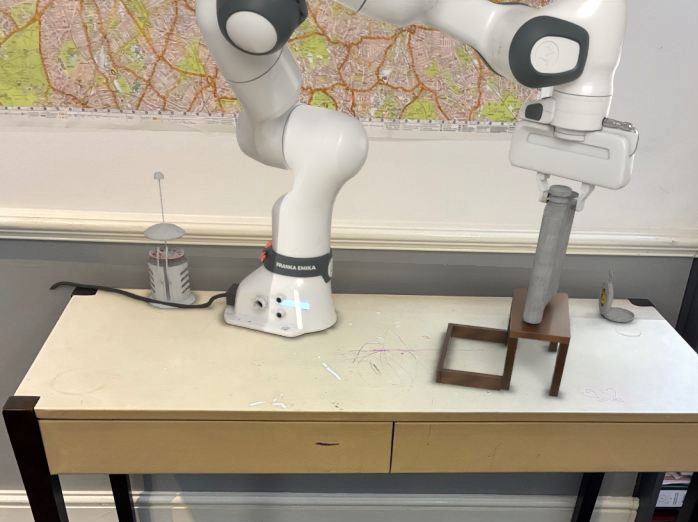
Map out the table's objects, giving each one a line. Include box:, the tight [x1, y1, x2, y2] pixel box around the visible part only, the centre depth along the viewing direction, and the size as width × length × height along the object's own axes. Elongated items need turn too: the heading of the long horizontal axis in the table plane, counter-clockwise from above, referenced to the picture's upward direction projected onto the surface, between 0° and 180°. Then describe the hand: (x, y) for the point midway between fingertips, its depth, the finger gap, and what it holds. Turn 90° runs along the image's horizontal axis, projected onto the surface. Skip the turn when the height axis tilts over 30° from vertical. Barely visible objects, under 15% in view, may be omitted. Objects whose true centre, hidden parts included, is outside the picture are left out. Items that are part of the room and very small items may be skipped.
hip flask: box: [523, 184, 580, 324], centre depth 131 cm, size 16×4×20 cm, turn 158°
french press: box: [143, 171, 197, 309], centre depth 154 cm, size 10×12×25 cm
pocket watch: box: [598, 269, 636, 323], centre depth 164 cm, size 8×8×10 cm
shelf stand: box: [435, 287, 572, 398], centre depth 142 cm, size 22×21×11 cm
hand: (560, 206), depth 128 cm, fingers closed on hip flask, 4 cm apart
